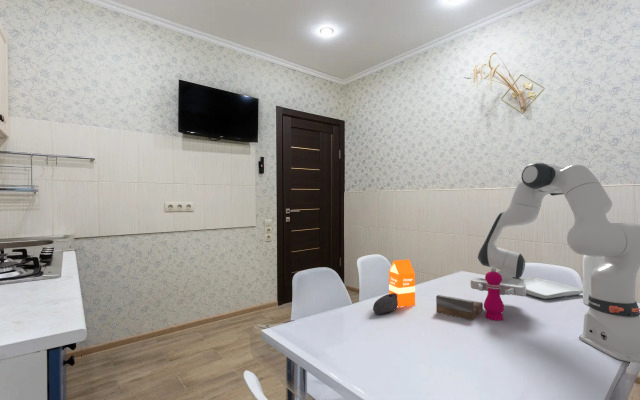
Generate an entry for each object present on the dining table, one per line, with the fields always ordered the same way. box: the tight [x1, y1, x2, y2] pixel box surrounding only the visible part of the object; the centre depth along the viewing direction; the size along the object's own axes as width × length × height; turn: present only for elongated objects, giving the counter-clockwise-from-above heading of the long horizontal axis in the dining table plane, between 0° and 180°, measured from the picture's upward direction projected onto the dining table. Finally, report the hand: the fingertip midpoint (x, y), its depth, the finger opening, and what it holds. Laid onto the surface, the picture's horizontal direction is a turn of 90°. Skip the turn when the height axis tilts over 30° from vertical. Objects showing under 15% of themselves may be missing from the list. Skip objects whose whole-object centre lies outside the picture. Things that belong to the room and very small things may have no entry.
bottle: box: [582, 255, 604, 306], centre depth 144 cm, size 8×8×30 cm
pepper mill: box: [483, 267, 505, 322], centre depth 129 cm, size 7×7×20 cm
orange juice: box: [388, 259, 416, 308], centre depth 147 cm, size 8×9×20 cm
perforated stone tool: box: [372, 293, 398, 315], centre depth 137 cm, size 15×5×7 cm, turn 128°
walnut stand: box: [435, 294, 484, 321], centre depth 137 cm, size 16×14×7 cm
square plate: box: [520, 277, 583, 300], centre depth 166 cm, size 27×27×4 cm
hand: (493, 290), depth 128 cm, fingers open, 8 cm apart
